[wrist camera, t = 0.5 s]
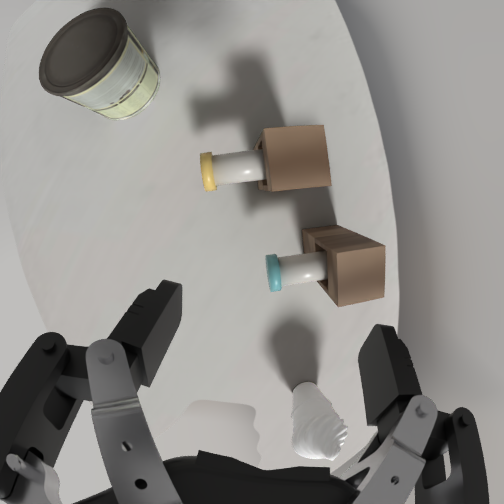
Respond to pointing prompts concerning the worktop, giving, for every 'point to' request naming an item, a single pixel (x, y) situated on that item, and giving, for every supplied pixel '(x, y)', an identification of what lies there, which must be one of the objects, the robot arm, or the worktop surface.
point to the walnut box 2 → (348, 264)
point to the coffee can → (100, 65)
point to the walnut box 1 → (294, 158)
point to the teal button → (296, 269)
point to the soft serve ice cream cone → (315, 424)
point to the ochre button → (231, 168)
